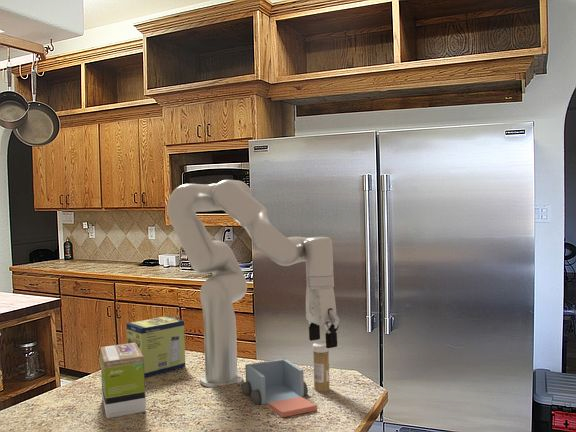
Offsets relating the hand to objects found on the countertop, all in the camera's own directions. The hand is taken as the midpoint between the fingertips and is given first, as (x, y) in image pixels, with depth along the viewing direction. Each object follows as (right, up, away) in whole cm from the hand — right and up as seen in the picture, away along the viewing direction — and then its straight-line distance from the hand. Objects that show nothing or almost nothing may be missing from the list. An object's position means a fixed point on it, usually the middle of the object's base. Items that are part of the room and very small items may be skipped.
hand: (323, 343), depth 146 cm
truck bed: (-13, -14, -2) cm, 19 cm away
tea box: (-53, -15, -6) cm, 56 cm away
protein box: (-52, -14, +24) cm, 59 cm away
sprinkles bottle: (0, -14, +1) cm, 14 cm away
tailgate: (-10, -13, -8) cm, 19 cm away
